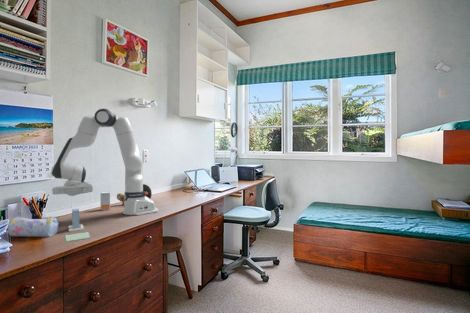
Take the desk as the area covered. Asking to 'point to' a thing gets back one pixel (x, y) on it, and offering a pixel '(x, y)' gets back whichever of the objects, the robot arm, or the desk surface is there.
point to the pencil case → (33, 227)
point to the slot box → (76, 228)
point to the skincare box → (105, 200)
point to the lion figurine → (121, 198)
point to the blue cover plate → (75, 218)
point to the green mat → (77, 237)
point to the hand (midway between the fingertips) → (73, 191)
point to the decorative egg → (147, 190)
